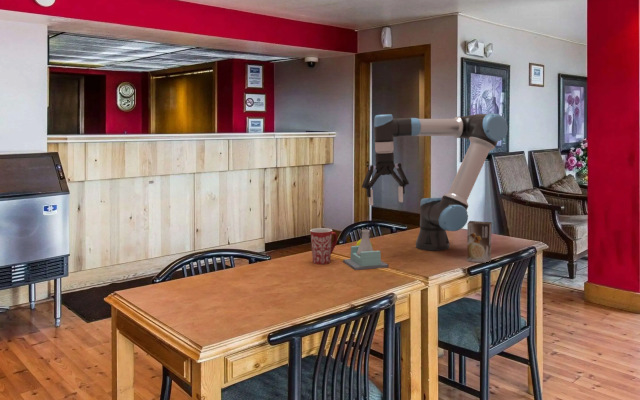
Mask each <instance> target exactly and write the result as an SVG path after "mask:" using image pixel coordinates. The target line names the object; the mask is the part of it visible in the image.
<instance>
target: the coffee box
mask: <svg viewBox="0 0 640 400" xmlns="http://www.w3.org/2000/svg"><path fill="white" fill-rule="evenodd" d="M492 224H493V222H490V221H480V220H477V221H476V220H470V221H467V224H466V225H467V228H466V229H467V234H466V235H467V236H466V238H467V241H466V243H467V244H466V262H473V263H484V264H487V263H486V262H489V261H490V262H491V261H492V228H493V227H492V226H493V225H492ZM490 262H489V263H490Z"/></svg>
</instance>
